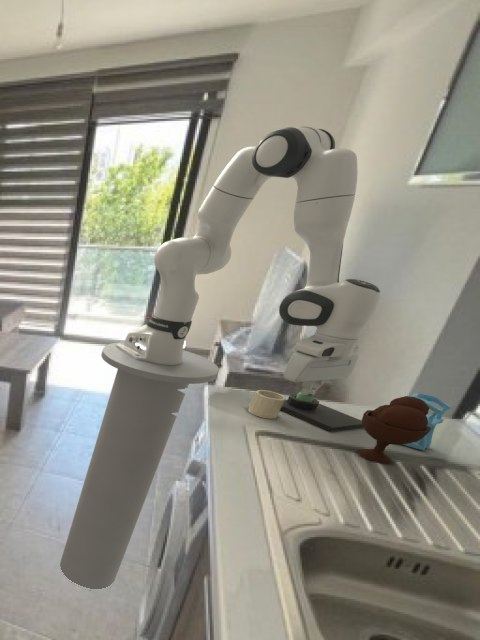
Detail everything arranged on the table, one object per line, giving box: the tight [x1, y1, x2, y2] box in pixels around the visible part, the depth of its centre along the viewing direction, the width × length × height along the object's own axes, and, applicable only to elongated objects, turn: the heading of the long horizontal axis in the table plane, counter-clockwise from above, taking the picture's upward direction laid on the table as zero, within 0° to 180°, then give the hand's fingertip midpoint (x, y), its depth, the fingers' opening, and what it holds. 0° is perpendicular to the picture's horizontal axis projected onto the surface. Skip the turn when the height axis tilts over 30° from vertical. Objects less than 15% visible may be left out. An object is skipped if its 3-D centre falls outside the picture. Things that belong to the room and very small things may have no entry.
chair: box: [402, 393, 452, 451], centre depth 115 cm, size 8×8×12 cm
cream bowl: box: [247, 389, 287, 420], centre depth 128 cm, size 6×6×6 cm
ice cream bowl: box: [358, 395, 432, 465], centre depth 106 cm, size 11×11×15 cm
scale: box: [280, 393, 364, 433], centre depth 129 cm, size 16×13×3 cm
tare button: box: [296, 391, 315, 402], centre depth 132 cm, size 4×4×2 cm
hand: (307, 394), depth 131 cm, fingers closed
